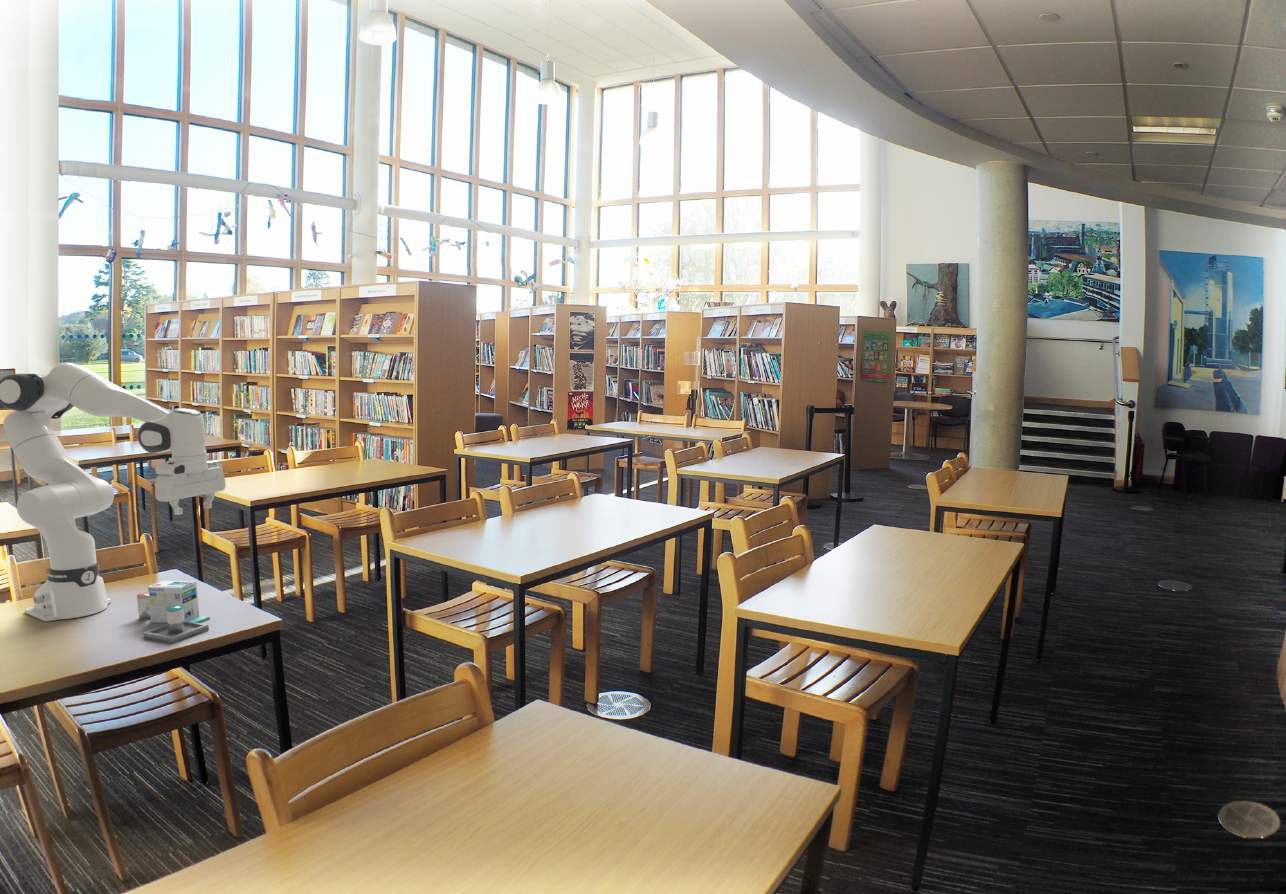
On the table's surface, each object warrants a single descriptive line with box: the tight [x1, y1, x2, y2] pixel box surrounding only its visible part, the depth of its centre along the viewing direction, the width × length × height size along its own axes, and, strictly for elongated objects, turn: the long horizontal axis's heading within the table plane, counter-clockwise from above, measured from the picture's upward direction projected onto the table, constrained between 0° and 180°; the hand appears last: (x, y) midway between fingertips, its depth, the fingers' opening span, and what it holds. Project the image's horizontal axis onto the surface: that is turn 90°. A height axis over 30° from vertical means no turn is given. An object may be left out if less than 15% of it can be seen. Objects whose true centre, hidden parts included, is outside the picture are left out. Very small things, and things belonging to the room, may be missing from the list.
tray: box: [142, 620, 210, 645], centre depth 215 cm, size 11×11×2 cm
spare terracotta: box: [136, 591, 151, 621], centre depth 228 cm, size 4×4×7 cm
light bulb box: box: [147, 579, 200, 624], centre depth 226 cm, size 11×7×11 cm, turn 84°
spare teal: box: [166, 605, 185, 634], centre depth 215 cm, size 4×4×7 cm
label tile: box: [188, 615, 211, 623], centre depth 225 cm, size 3×5×1 cm, turn 158°
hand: (193, 511), depth 229 cm, fingers open, 8 cm apart
